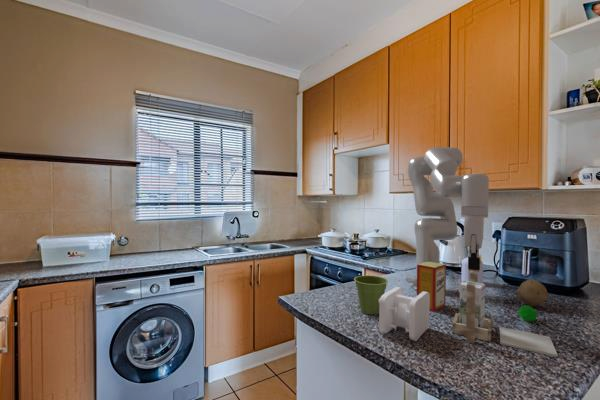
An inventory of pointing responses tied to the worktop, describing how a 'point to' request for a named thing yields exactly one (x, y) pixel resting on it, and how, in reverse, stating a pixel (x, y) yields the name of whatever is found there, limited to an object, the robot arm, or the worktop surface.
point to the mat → (527, 341)
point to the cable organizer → (404, 312)
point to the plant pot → (370, 292)
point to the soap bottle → (466, 273)
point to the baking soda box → (432, 283)
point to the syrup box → (478, 303)
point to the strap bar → (480, 265)
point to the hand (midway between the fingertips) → (473, 269)
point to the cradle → (471, 317)
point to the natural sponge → (532, 292)
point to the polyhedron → (527, 313)
